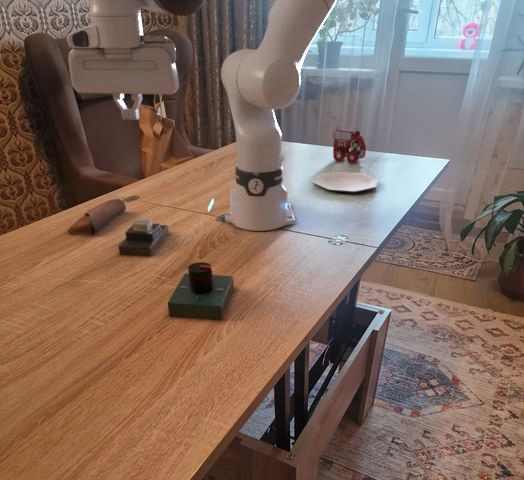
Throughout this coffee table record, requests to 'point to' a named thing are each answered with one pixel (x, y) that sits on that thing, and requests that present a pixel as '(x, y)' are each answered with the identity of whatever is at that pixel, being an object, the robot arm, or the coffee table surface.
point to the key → (142, 225)
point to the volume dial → (200, 277)
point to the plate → (345, 182)
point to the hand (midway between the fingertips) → (131, 119)
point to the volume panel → (201, 299)
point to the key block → (143, 241)
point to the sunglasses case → (97, 218)
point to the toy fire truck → (348, 146)
